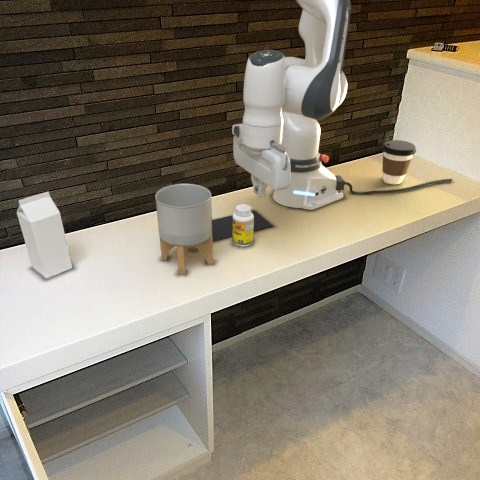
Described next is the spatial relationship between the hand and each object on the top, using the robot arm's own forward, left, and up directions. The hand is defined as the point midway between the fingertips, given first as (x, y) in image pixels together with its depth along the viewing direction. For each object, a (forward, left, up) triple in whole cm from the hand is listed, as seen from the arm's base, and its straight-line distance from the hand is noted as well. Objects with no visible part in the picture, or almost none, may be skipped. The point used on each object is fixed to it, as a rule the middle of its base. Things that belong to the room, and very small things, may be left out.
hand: (259, 194), depth 118 cm
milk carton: (+48, -18, -17) cm, 54 cm away
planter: (+17, -6, -17) cm, 25 cm away
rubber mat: (-2, -18, -17) cm, 25 cm away
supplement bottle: (0, -8, -17) cm, 19 cm away
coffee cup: (-65, -22, -17) cm, 71 cm away
